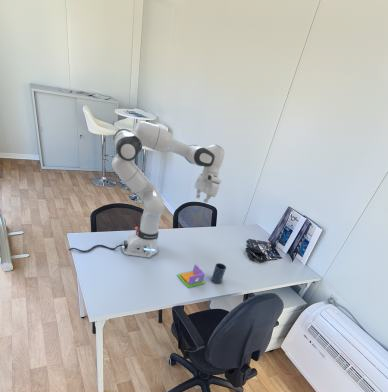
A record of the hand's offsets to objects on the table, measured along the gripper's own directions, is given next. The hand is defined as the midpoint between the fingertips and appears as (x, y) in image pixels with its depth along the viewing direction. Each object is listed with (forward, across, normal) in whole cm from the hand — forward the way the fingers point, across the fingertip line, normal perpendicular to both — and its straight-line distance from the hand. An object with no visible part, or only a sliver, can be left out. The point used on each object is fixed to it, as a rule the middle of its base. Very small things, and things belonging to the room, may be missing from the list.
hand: (201, 200), depth 168 cm
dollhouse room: (+43, +18, -1) cm, 47 cm away
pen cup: (+40, +22, +14) cm, 48 cm away
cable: (+28, +2, +57) cm, 64 cm away
